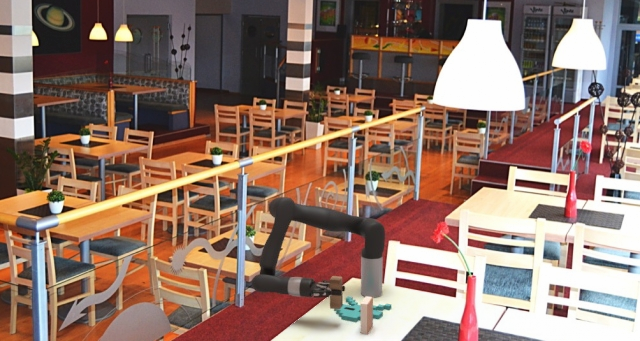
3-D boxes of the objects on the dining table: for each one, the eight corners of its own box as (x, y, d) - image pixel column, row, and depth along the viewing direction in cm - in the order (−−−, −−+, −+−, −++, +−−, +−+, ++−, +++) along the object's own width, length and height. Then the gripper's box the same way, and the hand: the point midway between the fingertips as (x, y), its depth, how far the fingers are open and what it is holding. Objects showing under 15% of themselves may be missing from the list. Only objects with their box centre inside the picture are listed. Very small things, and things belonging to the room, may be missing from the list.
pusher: (332, 304, 326) (332, 276, 323) (342, 305, 325) (342, 276, 322) (330, 308, 322) (329, 279, 320) (339, 309, 321) (339, 280, 318)
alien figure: (348, 301, 351) (326, 317, 333) (348, 296, 350) (326, 312, 333) (391, 309, 342) (371, 326, 324) (391, 304, 341) (371, 321, 324)
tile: (365, 325, 324) (365, 296, 322) (372, 325, 324) (373, 297, 321) (360, 332, 317) (360, 303, 314) (368, 333, 316) (368, 304, 314)
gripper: (295, 284, 319) (338, 288, 314) (306, 272, 332) (347, 275, 327) (296, 302, 320) (338, 306, 315) (306, 289, 333) (347, 293, 329)
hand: (342, 290), depth 321 cm, fingers closed on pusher, 4 cm apart
